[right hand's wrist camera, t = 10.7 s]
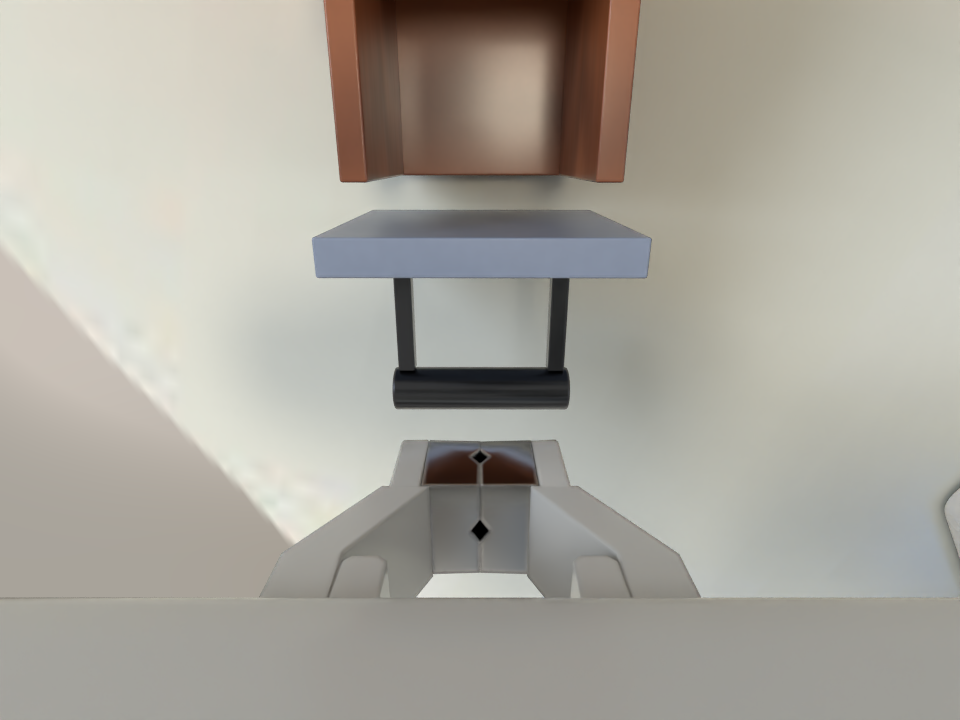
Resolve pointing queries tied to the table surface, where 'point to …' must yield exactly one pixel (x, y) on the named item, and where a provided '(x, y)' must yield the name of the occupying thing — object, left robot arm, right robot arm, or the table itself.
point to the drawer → (481, 161)
